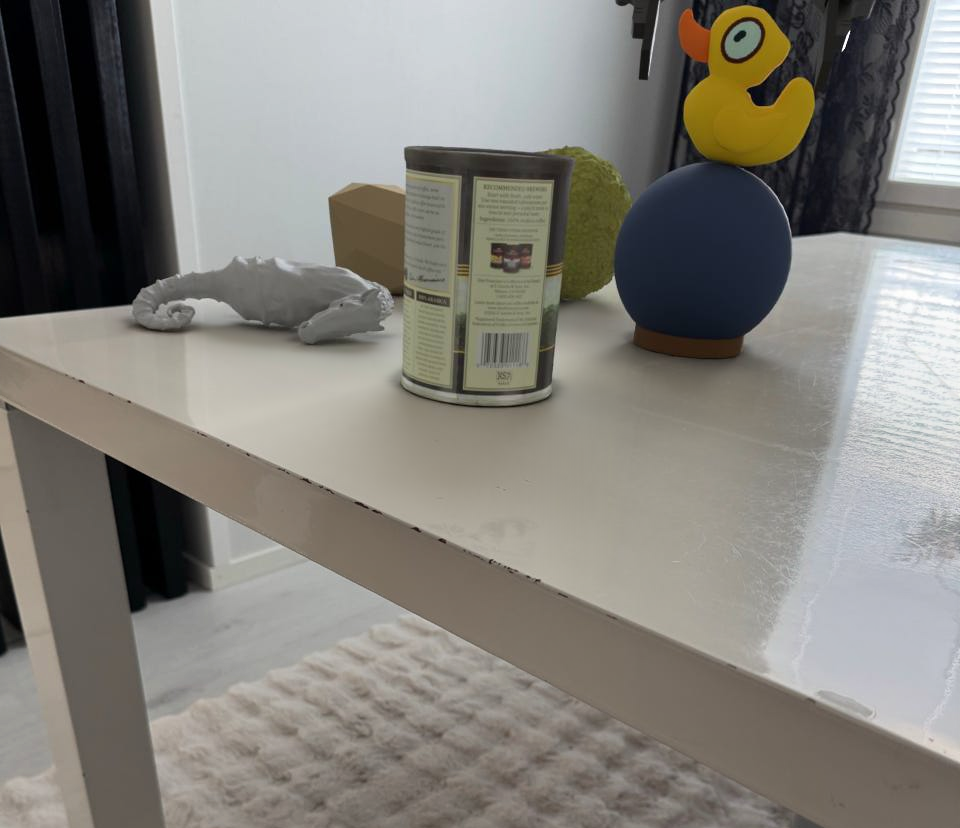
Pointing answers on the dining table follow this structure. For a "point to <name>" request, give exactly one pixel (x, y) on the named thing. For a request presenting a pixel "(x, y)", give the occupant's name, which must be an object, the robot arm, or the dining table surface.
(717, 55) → the duckling
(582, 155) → the fruit
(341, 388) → the dining table surface
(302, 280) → the seahorse
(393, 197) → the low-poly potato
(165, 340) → the dining table surface
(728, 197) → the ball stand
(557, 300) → the coffee can
